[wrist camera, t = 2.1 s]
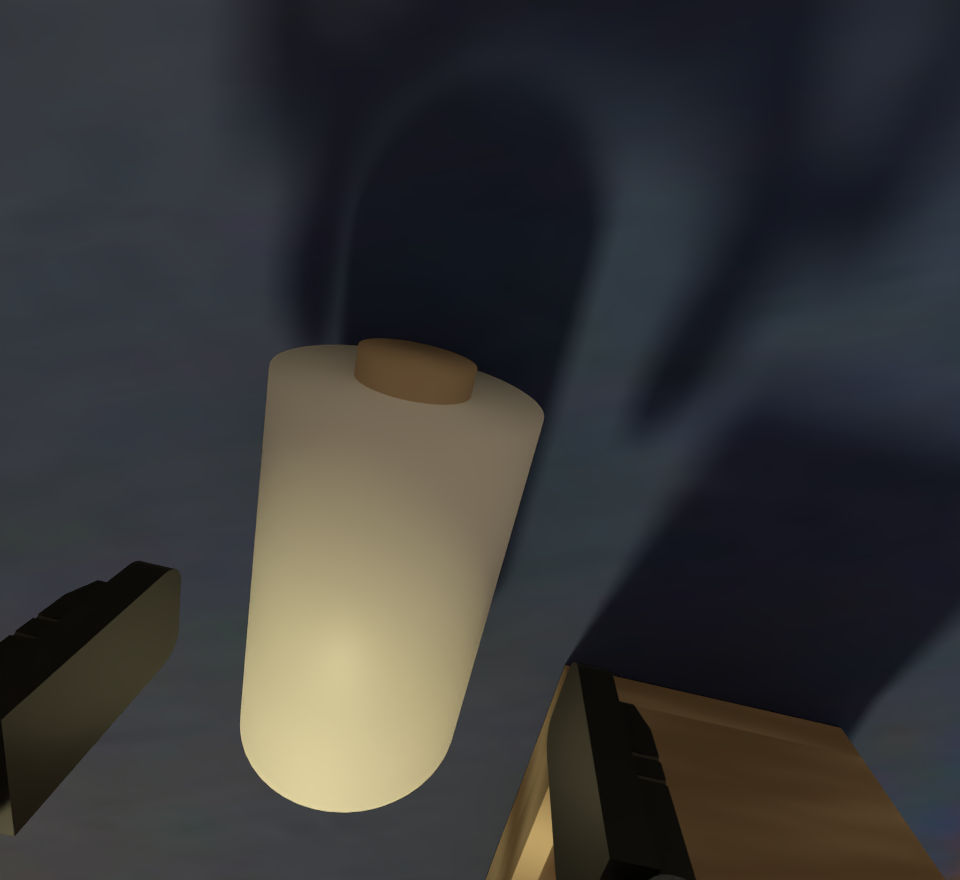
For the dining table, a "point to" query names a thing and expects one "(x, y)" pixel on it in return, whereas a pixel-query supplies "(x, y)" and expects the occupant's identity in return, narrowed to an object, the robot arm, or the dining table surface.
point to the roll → (374, 562)
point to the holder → (741, 797)
